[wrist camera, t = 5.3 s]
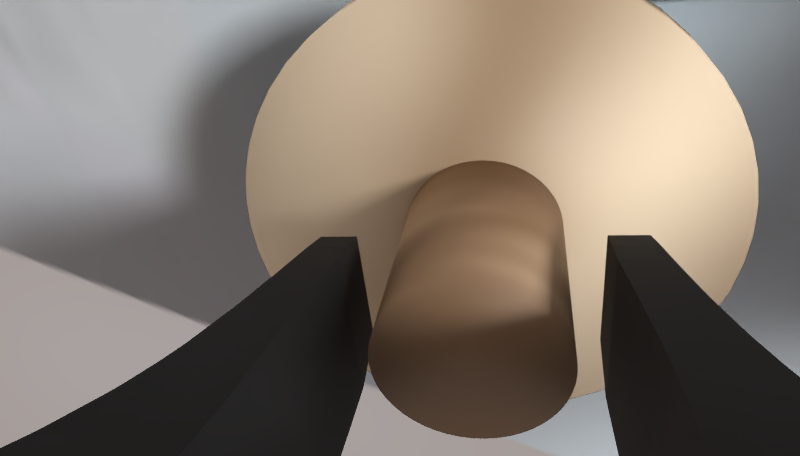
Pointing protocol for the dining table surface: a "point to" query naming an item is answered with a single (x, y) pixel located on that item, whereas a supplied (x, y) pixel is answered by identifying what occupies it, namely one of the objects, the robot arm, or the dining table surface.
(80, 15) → the dining table surface
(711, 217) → the lid
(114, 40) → the dining table surface
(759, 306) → the dining table surface
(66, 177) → the dining table surface
